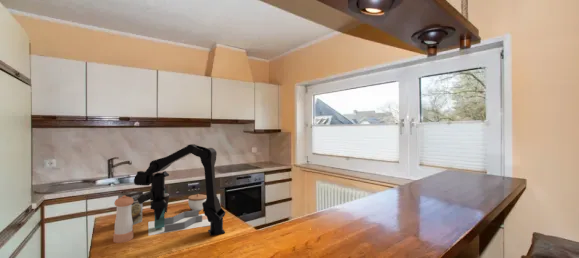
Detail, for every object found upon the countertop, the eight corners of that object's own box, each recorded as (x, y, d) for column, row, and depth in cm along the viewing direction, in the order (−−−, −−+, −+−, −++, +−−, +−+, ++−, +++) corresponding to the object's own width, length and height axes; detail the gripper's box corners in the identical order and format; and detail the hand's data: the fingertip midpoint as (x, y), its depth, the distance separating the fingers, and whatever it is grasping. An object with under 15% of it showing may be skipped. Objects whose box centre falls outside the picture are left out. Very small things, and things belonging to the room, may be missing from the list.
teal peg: (164, 227, 119) (164, 206, 119) (154, 228, 117) (155, 207, 117) (163, 224, 123) (164, 204, 122) (154, 225, 121) (154, 205, 120)
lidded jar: (210, 207, 155) (210, 192, 155) (199, 213, 145) (199, 196, 145) (195, 206, 158) (195, 191, 158) (184, 211, 148) (184, 195, 148)
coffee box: (126, 228, 120) (126, 195, 121) (116, 226, 122) (117, 193, 123) (142, 222, 129) (143, 190, 129) (133, 220, 131) (134, 189, 131)
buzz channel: (219, 225, 128) (220, 217, 128) (148, 237, 112) (148, 228, 112) (211, 214, 144) (211, 207, 144) (148, 223, 128) (148, 216, 128)
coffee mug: (154, 210, 147) (154, 193, 147) (170, 209, 150) (170, 192, 150) (149, 217, 136) (149, 198, 136) (166, 215, 139) (167, 197, 139)
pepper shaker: (111, 239, 108) (112, 195, 108) (131, 234, 113) (132, 192, 113) (115, 245, 103) (116, 198, 103) (135, 239, 108) (136, 195, 108)
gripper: (139, 183, 124) (138, 215, 124) (137, 191, 107) (137, 228, 107) (164, 181, 129) (163, 211, 129) (166, 189, 113) (165, 223, 113)
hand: (157, 218), depth 119 cm, fingers closed on teal peg, 4 cm apart
